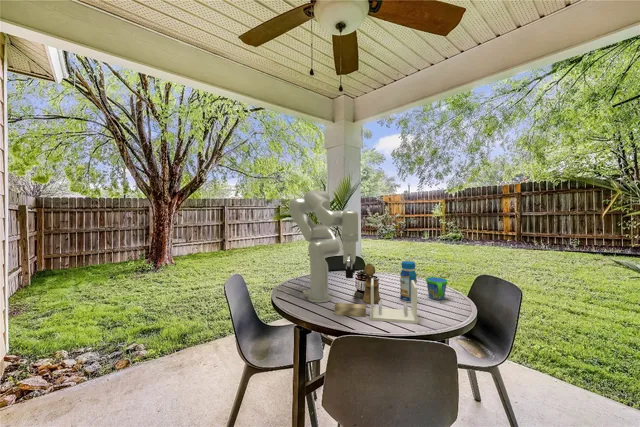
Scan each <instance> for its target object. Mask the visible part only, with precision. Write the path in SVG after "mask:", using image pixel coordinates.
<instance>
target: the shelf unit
mask: <svg viewBox="0 0 640 427" xmlns="http://www.w3.org/2000/svg"><path fill="white" fill-rule="evenodd" d="M374 279H375V278H371V304H370V309H369V321H376V322H388V323H389V322H390V323H401V324H402V323H403V324H404V323H405V324H415V325H416V324H419V319H418V287H417V283H416V284H415V282H414V280H411V302H410V304H411V305H410V307H411V308H410V309H409V308H408V307H409V306H408V302H404V301H403V309H398V308H397V309H395V308H383V301H382V300H381V301H379V303H378V308H377V307H374V306H375V304H374Z"/></svg>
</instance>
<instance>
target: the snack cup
mask: <svg viewBox="0 0 640 427" xmlns="http://www.w3.org/2000/svg"><path fill="white" fill-rule="evenodd" d="M425 281H426V285H427V286H426V287H427V293H428V298H430V299H431V300H436V301H443V300H444V299H445V295H446V291H447V285H448V283H449V282H448V279H447V278H443V277H439V276H436V277H435V276H430V277H429V276H428V277H426V278H425Z"/></svg>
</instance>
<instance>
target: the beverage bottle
mask: <svg viewBox="0 0 640 427" xmlns="http://www.w3.org/2000/svg"><path fill="white" fill-rule="evenodd" d="M401 269H402V270H401V271H400V273H399V276H400V278H399V282H400V291H399V293H400V295H399V298H400V301H402V302H403V303H404V302H407V303H411V280H414V282H415V284H416V285H417V283H418V279H417V272H416V271H415V269H416V263H415V261H410V260H404V261H403V260H402V261H401Z"/></svg>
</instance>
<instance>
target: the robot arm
mask: <svg viewBox="0 0 640 427" xmlns="http://www.w3.org/2000/svg"><path fill="white" fill-rule="evenodd" d="M330 199H331V197H330V195H329V192H328V191H325V190H316V189H315V190H312V189H311V190H308V191H307V192H305V194H304V195H303V197H296V198H293V199H291V200H290V202H289V205H288V206H289V208H288V209H289V214H290V216H291V218H292V220H293V221H294V223H295V224H296V226H298V228H299V230H300V233H301V234H302V236H303V238H304V240H305V241H306V242H308V243H309V244H308V248H307V250H308V255H309V262H310V263H309V266H310V267H309V268H310V277H309V278H310V279H309V280H310V284H309V285H310V286H309V288H310V289H309V290H306V289H305V290H304V289H303V291H302V294H303V295H305V296H307V301H309V302H311V303H316V304H319V303H321V304H322V303H327V302H330V301H331V300H332V296H331V295H330V294H329V264H328V262H327V261H326V259H325V258H328V257H335V256H337V255H338V254H339V253H340V251H341V246H340V243H339V241H338V239H337V237H336V236H335V234H334V233H333V231H332V229H331V228H333V227H336V228H337V227H341V242H343V249H342V250H343V253H342V255H343V256H342V257H343V258H342V260H343V261H342V262H343V264H344V265H345V278H346V279H353V278H354V274H355V272H356V271H355V270H356V269H355V268H356V265H355V262H356V255H357V242H359V213H358V211H355V210H353V211H352V210H351V211H350V210H349V211H348V210H330V209H331V200H330ZM306 213H315V217H316V219H317V221H319V222H320V224H316V223H314V222H313V219H312V218H311V217H310V216H309V215H307V214H306Z"/></svg>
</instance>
